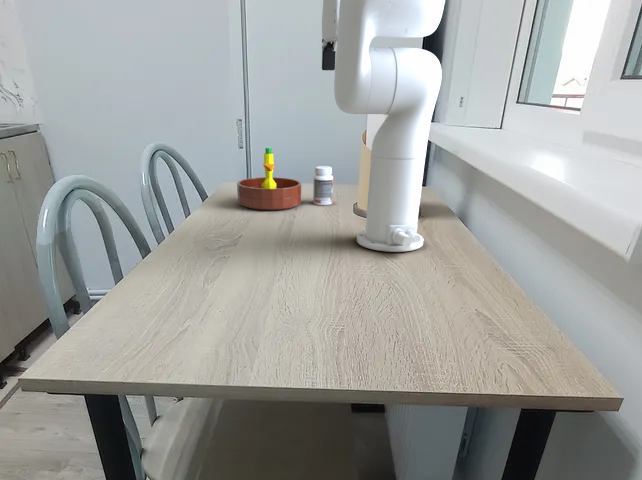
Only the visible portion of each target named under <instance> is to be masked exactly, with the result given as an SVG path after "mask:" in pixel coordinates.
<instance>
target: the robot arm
mask: <svg viewBox="0 0 642 480" xmlns="http://www.w3.org/2000/svg"><path fill="white" fill-rule="evenodd" d="M445 4H446V0H323V1H322V12H321V13H322V14H321V15H322V17H321V38H322V39H321V43H322V45H321V71H334V80H333V81H334V83H333V89H334V99H335V104H336V106H337V107H338V109H339V110H340V111H341V112H343V113H345V114H350V115H351V114H352V115H383V116H387V117H386V118H385V120H384V121H383V123H381V125H380V127H379V128H378V129H377V131H376V132H375V135H374V136H373V140H372V143H371V153H370V163H369V165H370V166H369V179H368V190H367V191H368V193H367V205H366V206H367V207H366V221H365V230H363V231H360V232H359V233H358V234H357V235H356V242H357V243H358V245H360V246H361V247H363V248H366V249H370V250H375V251H379V252H387V253H401V252H411V251H415V250H418V249H421V248H422V247H423V245H424V238H423V236H422V235H420V233H419V234H418V233H417V232H418V220H419V213H420V211H419V210H420V204H421V195H422V186H423V179H424V170H425V162H426V155H427V147H428V140H429V134H430V128H431V122H432V118H433V113H434V110H435V106H436V103H437V99H438V96H439V92H440V89H441V83H442V75H443V74H442V66H441V63H440V60H439V59H438V57H437V56H436V55H435V54H434V53H432V52H431V51H428V50H426V49H423V48H417V47H397V46H389V47H381V46H379V47H377V46H376V47H375V46H374V47H373V46H370V45H371V42H372V40H373V39H374V38H397V39H398V38H406V39H407V38H408V39H409V38H410V39H411V38H412V39H413V38H424V37H427V36H431V35H432V34H433V33H434V32H435V31H436V30H437V28H438V26H439V24H440V22H441V21H442V20H441V19H442V16H443V12H444V7H445ZM335 47H336V48H335ZM335 49H336V50H335Z"/></svg>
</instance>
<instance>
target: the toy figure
mask: <svg viewBox="0 0 642 480" xmlns="http://www.w3.org/2000/svg"><path fill="white" fill-rule="evenodd" d="M264 151H265V152H264V154H263V168H264V173H265V174H264V175H265V177H266V179H265V181H264V182H263V184H262V189H276V183H275V181H274V180H273V179H272V177H273V176H274V175H273V174H274V169H275V167H276V166H275V165H276V164H275V163H274V153H273V152H272V151H273V148H272V147H265V150H264Z"/></svg>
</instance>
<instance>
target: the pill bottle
mask: <svg viewBox="0 0 642 480" xmlns="http://www.w3.org/2000/svg"><path fill="white" fill-rule="evenodd" d="M314 174H315V175H314V176H313V190H312V191H313V194H312V195H313V196H312V197H313V200H312V202H313V204H314V205H317V206H330V205H332V204H333V199H334V198H333V193H334V176H333V175H332V174H333V167H332V166H328V165H318V166H315V168H314Z"/></svg>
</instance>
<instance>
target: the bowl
mask: <svg viewBox="0 0 642 480" xmlns="http://www.w3.org/2000/svg"><path fill="white" fill-rule="evenodd" d="M265 179H266V176H263V177H261V176H260V177H251V178H245V179H241V180H238V181H237V183H236V189H237V191H236V192H237V203H238V204H239V205H240V206H243V207H246V208H248V209H251V210H257V211H281V210H282V211H283V210H288V209H291V208H294V207H297V206H300V205H301V204H302V182H301V181H299V180H297V179H293V178H286V177H275V176H274V177H273V176H272V179H273V180H274V181H275V183H276V189H262V184H263V182H264V181H265Z"/></svg>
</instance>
